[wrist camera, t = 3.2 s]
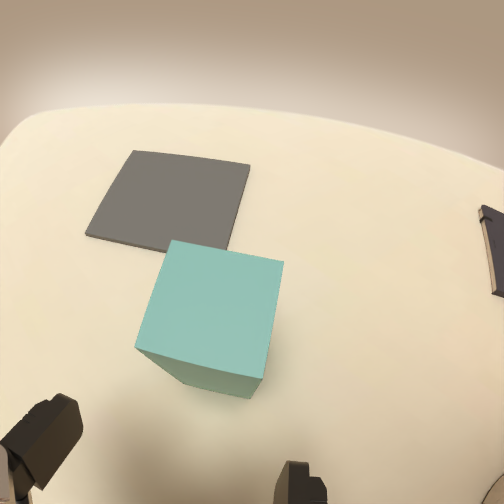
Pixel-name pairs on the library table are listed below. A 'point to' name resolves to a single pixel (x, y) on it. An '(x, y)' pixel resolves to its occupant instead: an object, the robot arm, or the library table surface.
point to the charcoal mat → (171, 201)
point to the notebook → (494, 246)
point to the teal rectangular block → (212, 317)
